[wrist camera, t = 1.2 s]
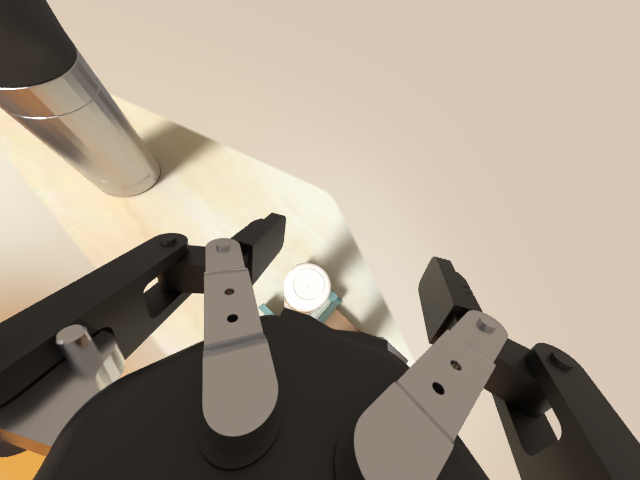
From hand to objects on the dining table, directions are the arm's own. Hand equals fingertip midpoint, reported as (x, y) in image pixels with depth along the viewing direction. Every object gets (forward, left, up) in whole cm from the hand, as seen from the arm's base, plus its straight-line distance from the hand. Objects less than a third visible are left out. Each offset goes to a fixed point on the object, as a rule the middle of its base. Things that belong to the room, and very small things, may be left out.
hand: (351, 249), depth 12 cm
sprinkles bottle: (-1, -1, -24) cm, 24 cm away
